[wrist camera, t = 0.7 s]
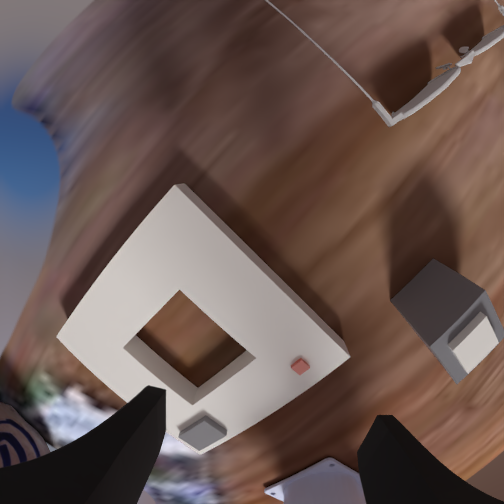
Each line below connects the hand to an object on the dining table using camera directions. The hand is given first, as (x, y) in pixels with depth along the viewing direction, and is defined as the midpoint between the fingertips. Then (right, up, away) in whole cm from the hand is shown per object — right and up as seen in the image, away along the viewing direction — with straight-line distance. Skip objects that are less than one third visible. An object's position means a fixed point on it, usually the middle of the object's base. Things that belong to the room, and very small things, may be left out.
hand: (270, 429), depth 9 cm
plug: (+11, +3, +9) cm, 15 cm away
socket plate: (-4, 0, +11) cm, 12 cm away
